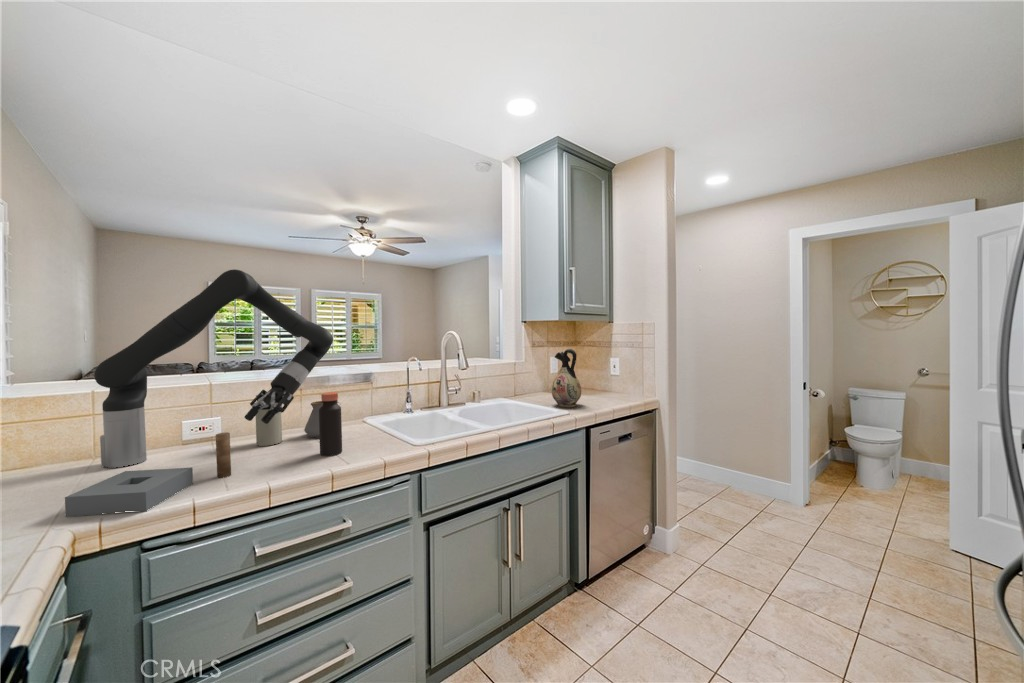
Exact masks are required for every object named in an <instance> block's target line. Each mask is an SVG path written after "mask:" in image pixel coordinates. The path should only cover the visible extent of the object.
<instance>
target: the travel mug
mask: <svg viewBox="0 0 1024 683" xmlns="http://www.w3.org/2000/svg"><path fill="white" fill-rule="evenodd" d="M257 395H258V394H256V395H255V397H256V396H257ZM257 401H258V400H257ZM257 401H256V402H257ZM260 406H261V405H260ZM260 406H259V407H260ZM270 408H271V406H268V407H266V408H263V409H261V410H260V411H259V412H258V413H257V414H256V416H255V438H256V439H255V440H256V443H255V444H256V445H257V446H258V445H259V447H269V446H268V445H271V446H275V445H274V444H276V445H279V444H280V443H282V442H283V424H282V423H283V420H282V416H283V415H282V413H281V412H279V413H278V414H275V416H274V417H273V418H272V419H271V421H270V422H269V423H268V424H265V423H264V422H262V421H261V419H262V418H263V416H264V415H265V414H266V413H267V412H268V410H271V409H270ZM278 443H279V444H278Z"/></svg>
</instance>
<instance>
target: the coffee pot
mask: <svg viewBox="0 0 1024 683" xmlns="http://www.w3.org/2000/svg"><path fill="white" fill-rule="evenodd" d="M337 404H340V402H339V401H337ZM322 405H323V402H322V400H319V401H318V400H317V401H313V402H312V401H311V403H310V406H312V410H311V412H310V413H309V416H308V420H307V422H306V424H305V427H304V429H303V430H304V433H305V434H307V435H308V436H309V437H310V436H311V438H314V437H317V438H319V409H320V407H321V406H322Z"/></svg>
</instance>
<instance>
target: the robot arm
mask: <svg viewBox="0 0 1024 683" xmlns="http://www.w3.org/2000/svg"><path fill="white" fill-rule="evenodd" d="M235 300H241V301H244V302H245V303H247V304H249V305H251V306H253V307H255V308H256V309H257V310H259V311H261V312H262V313H264V315H266V316H267V317H268V318H269V319H270V320H271V321H273V322H274V323H275V324H276V325H278V326H279V327H280V328H282V329H283V330H284V331H286V332H287V333H288V334H290V335H292V336H294V337H296V338H304V339H305V340H307V341H308V342H307V344H306V345H305V346H304V348H302V349H301V350H299V351H298V352H297V353H295V355H294V357H293V358H292V359H291V360H290V361H289V362H288V363H287V364H286V365H284V367H283V368H282V369H281V370H280V372H278V374H276V376H275V377H273V380H272V381H271V382H270V386H271V387H270V389H269V390H267V391H266V390H265V389H262V390H261V391H260V392H259V393H258V394H256V395H257V396H256V395H255V398H254V399H252V400H251V402H250V403H249V406H251V408H250V409H249V411H248V412H247V413H246V414H245V415H244V419H245V420H247V421H248V422H251V421H253V419H254V418H256V414H257V413H258V412H259V411H260V410H261V409H263V408H266V407H268V406H271V408H270V409H271V410H268V412H267V413H266V414H265V415H264V416H263V418H262V419H261V421H262V422H264V423H265V424H268V423H269V422H270V421H271V419H272V418H273V417H274V416H275V414H278V413H279V412H281V414H282V413H284V412H285V411H286V409H287V408H288V407H289V405H290V404H291V403H292V401H293V400H294V398H295V396H294V395H295V393H296V392H297V391H298V389H299V388H300V387H301V385H302V384H303V383H304V382H305V381H306V379H307V377H308V376H309V374H310V373H311V372H312V371H313V369H314V368H315V366H316V365H317V364H318V362H319V361H321V360H322V359H323V357H324V356H326V354H327V353H328V352H329V350H330V349H331V346H332V344H333V342H334V336H333V334H332V333H331V332H330V331H329V330H328V329H327V328H325V327H323V326H321V325H319V324H317V323H314V322H313V321H309V320H308V319H307V318H306V317H303V316H302V315H301V314H300V313H298V312H297V311H295V310H294V309H292V308H291V307H289V306H287V305H286V304H284V303H283V302H281V301H280V300H278V299H277V298H275V297H274V296H273V295H272V294H270V293H269V292H268V291H267V290H266V289H264V287H263V286H262V285H261V284H260V283H259V282H258V281H257V280H255V278H254V277H253V276H252V275H251V274H249V273H247V272H245V271H243V270H240V269H228V270H226V271H224V272H223V273H221V274H220V275H219V276H217V277H216V278H215V279H214V280H213V281H212V282H211V283H210V284H209V285H208V286H207V287H205V289H204V290H202V291H201V292H200V293H199V294H197V295H196V296H194V297H193V298H191V299H190V300H189V301H187V302H185V303H184V304H182V306H180V307H179V308H177V309H176V310H174V311H173V312H171V313H170V314H168V315H167V316H166V317H164V318H163V319H162V320H160V321H159V322H158V323H157V324H155V325H154V326H153V327H152V328H150V329H148V330H147V331H146V332H145V333H144V334H143V335H141V336H140V337H139V338H138V339H137V340H135V341H134V342H132V343H131V344H130V345H128V346H126V347H125V348H123V349H122V350H120V351H118V352H117V353H115V354H113V355H111V356H110V357H108V358H106V359H105V360H103V361H102V362H101V363H99V364H98V365H97V366H96V368H95V370H94V375H93V377H94V380H95V382H96V383H97V384H98V385H99V386H101V387H103V388H106V389H107V388H108V389H109V392H108V395H107V397H106V398H105V399H104V400H103V401H102V403H101V404H102V405H101V407H102V422H103V434H102V435H100V436H99V443H100V444H99V445H100V447H99V448H100V462H101V464H100V466H101V468H103V467H102V466H105V467H104V468H107V467H108V468H107V469H116V467H118V468H122V467H123V466H125V467H129V466H128V465H130V466H134V465H138V464H141V463H143V461H144V462H146V461H147V437H146V416H145V415H146V414H145V401H146V397H147V395H148V394H147V392H148V371H147V366H148V365H150V364H151V363H152V362H154V361H155V360H157V359H159V358H160V357H163V356H164V355H166V354H169V353H171V352H173V351H174V350H176V349H179V348H180V347H182V346H184V345H185V344H187V343H188V342H190V341H191V340H192V339H194V338H195V337H197V335H200V333H201V332H202V331H203V330H204V329H206V327H207V326H208V325H209V324H210V322H211V321H212V320H213V319H214V316H216V314H217V313H218V312H219V311H221V309H222V308H224V307H225V306H227V305H228V304H230V303H231V302H233V301H235ZM257 400H258V401H257ZM260 405H261V406H260ZM259 406H260V407H259ZM137 463H138V464H137ZM133 464H134V465H133Z"/></svg>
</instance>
